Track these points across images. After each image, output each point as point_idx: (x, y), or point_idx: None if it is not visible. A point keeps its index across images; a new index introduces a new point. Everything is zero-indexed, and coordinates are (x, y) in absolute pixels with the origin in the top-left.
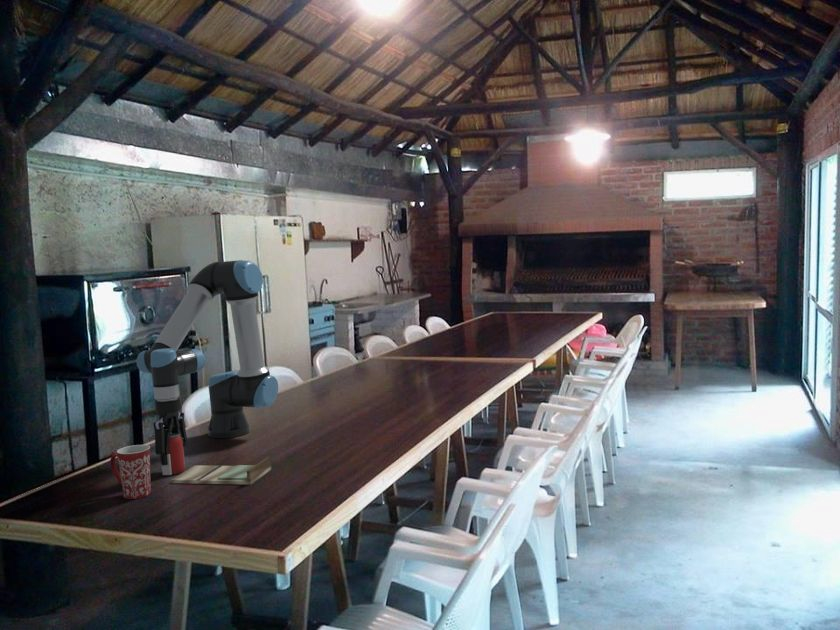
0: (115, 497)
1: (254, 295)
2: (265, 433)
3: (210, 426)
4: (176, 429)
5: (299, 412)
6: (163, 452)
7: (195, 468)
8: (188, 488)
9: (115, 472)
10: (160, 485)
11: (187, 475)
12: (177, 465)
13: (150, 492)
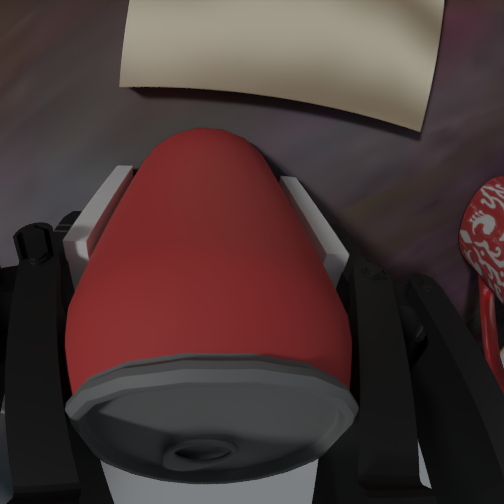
0: (477, 277)
1: None
2: None
3: None
4: (86, 491)
5: None
6: (433, 284)
7: (197, 43)
8: (482, 25)
9: (497, 343)
10: (426, 170)
11: (362, 47)
12: (263, 161)
13: (498, 177)
